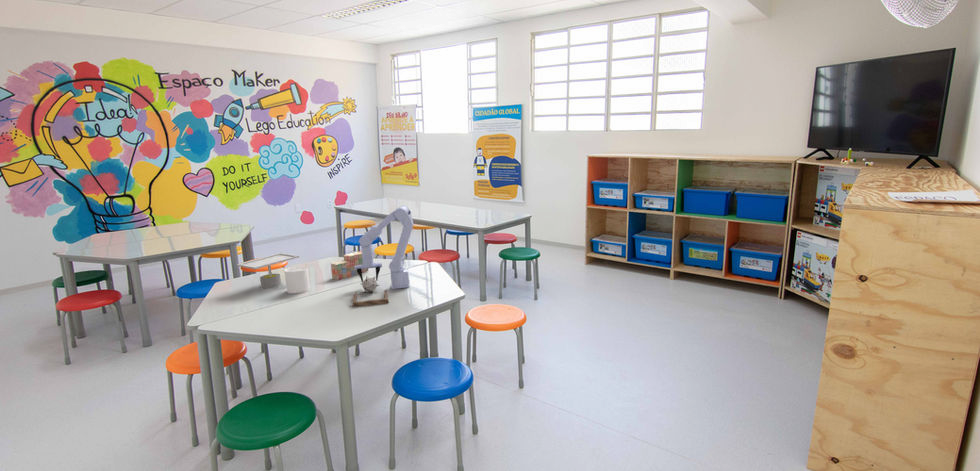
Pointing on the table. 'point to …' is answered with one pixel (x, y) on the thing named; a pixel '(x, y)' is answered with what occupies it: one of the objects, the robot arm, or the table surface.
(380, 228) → the robot arm
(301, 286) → the cup
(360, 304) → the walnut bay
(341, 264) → the stack of blocks
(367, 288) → the game die
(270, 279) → the solar panel model
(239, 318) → the table surface
